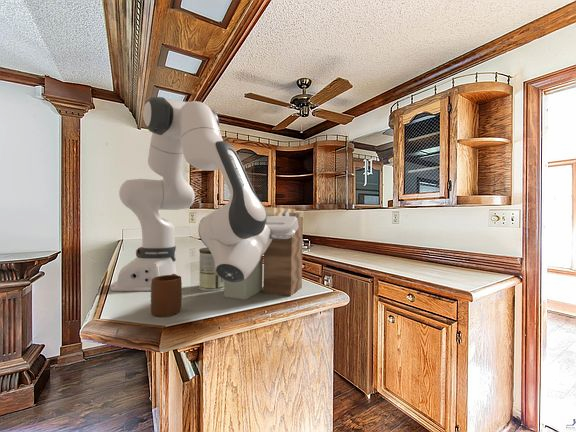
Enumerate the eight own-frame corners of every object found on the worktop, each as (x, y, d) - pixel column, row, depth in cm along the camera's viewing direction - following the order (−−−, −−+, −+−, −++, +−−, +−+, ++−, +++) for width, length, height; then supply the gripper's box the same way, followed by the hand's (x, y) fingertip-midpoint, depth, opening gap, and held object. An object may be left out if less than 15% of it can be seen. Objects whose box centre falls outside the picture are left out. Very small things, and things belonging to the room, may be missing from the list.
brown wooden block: (290, 296, 93) (292, 212, 92) (263, 292, 96) (264, 212, 96) (301, 287, 104) (302, 213, 104) (276, 284, 107) (277, 212, 107)
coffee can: (205, 283, 108) (205, 246, 108) (231, 284, 107) (232, 247, 107) (193, 290, 98) (194, 250, 98) (222, 291, 97) (223, 250, 97)
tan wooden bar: (274, 217, 86) (274, 207, 86) (262, 217, 87) (262, 207, 87) (295, 217, 105) (295, 209, 105) (285, 216, 106) (285, 208, 106)
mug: (162, 303, 84) (162, 271, 84) (188, 302, 85) (188, 271, 84) (146, 318, 72) (146, 281, 72) (176, 317, 73) (177, 281, 73)
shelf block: (245, 299, 88) (246, 216, 88) (224, 296, 91) (225, 216, 91) (262, 289, 100) (263, 216, 99) (242, 287, 102) (243, 216, 102)
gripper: (288, 228, 74) (302, 204, 85) (222, 226, 81) (243, 204, 92) (292, 248, 77) (305, 222, 88) (228, 244, 84) (247, 220, 95)
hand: (273, 212), depth 90 cm, fingers open, 8 cm apart
